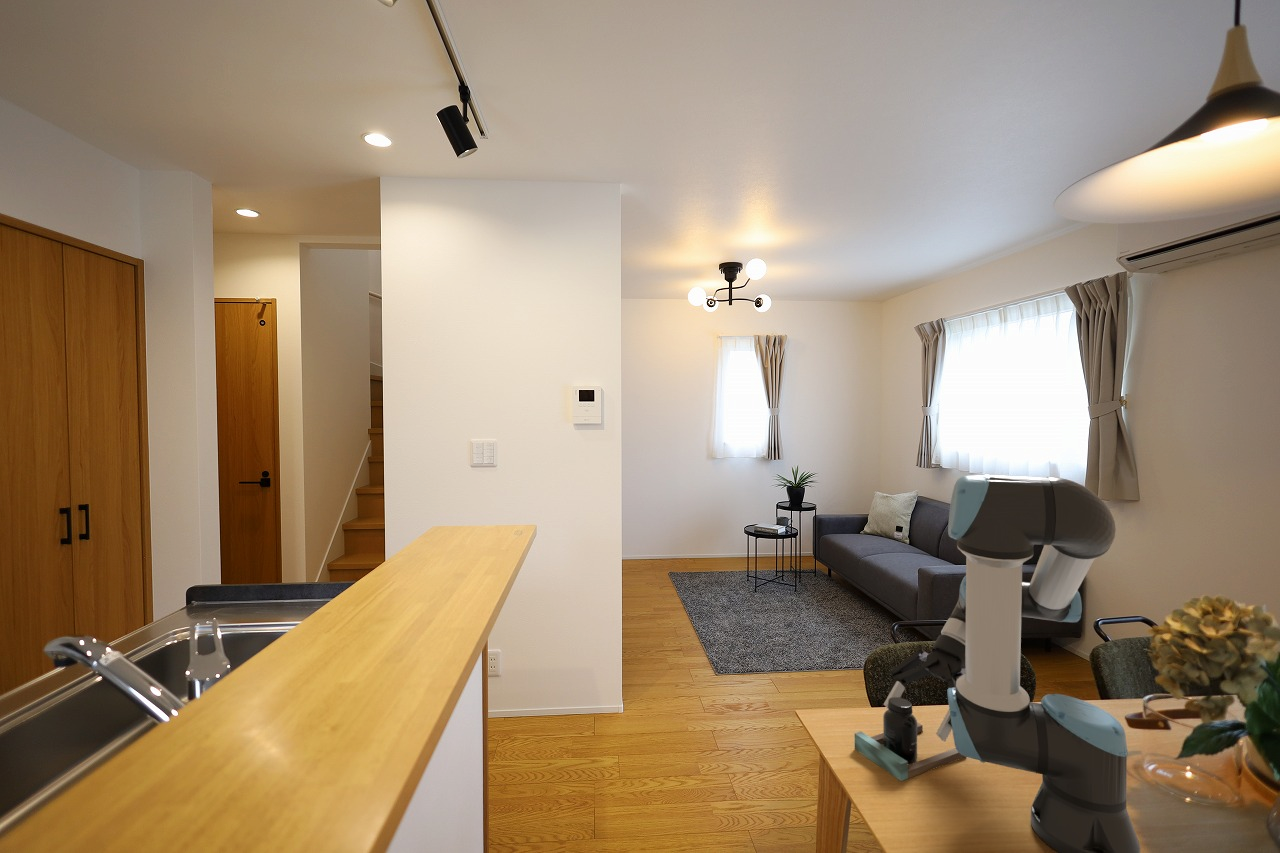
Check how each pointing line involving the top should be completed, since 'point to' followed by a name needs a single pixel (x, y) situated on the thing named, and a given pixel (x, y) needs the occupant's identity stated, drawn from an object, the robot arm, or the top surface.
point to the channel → (895, 763)
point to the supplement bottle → (900, 729)
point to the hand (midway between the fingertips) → (912, 722)
